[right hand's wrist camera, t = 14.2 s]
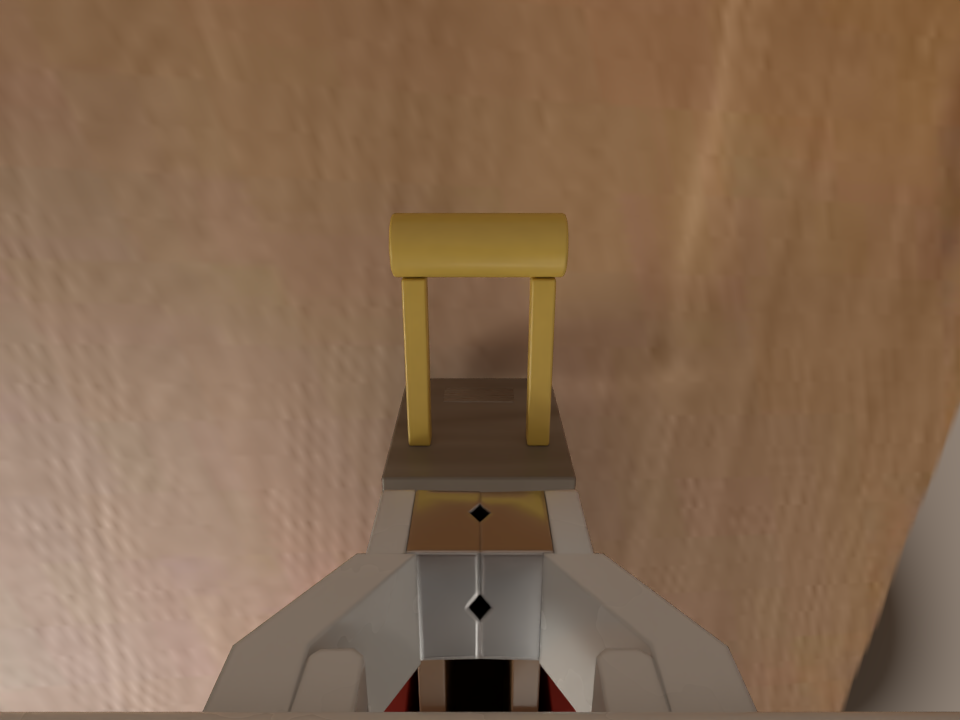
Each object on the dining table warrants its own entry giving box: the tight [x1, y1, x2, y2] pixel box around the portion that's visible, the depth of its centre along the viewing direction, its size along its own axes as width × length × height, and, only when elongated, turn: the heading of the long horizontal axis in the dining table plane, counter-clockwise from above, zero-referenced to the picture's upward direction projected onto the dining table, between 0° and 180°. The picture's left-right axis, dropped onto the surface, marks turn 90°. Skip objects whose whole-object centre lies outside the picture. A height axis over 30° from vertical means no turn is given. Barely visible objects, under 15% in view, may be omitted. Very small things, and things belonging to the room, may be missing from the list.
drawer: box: [382, 213, 576, 712], centre depth 21 cm, size 23×5×6 cm, turn 0°
